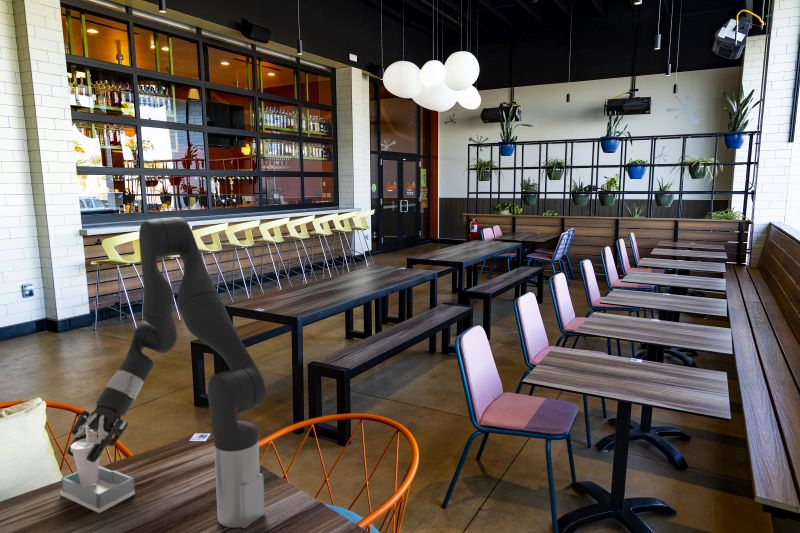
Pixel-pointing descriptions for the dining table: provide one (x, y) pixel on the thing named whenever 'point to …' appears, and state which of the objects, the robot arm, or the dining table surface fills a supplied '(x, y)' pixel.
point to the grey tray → (99, 489)
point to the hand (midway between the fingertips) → (80, 457)
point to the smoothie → (85, 459)
